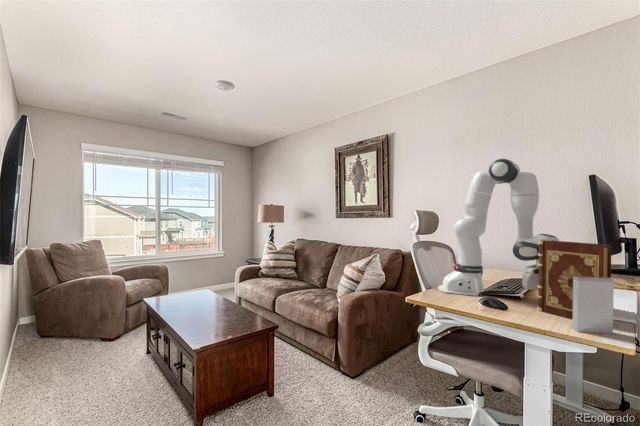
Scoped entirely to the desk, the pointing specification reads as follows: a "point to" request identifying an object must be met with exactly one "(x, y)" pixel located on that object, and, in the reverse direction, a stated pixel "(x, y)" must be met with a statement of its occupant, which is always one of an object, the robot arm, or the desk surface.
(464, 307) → the desk surface
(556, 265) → the decorative book
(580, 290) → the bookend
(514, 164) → the robot arm
